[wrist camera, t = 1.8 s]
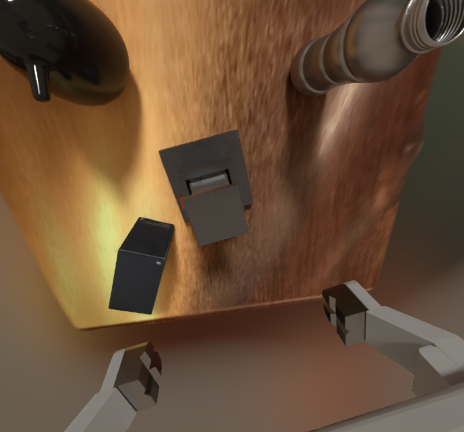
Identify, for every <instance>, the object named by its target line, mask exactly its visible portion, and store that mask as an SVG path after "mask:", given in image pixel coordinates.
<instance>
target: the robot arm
mask: <svg viewBox="0 0 464 432" xmlns="http://www.w3.org/2000/svg"><path fill="white" fill-rule="evenodd" d="M322 296H323V298H324V299H325V300H324V302H323V308H324V311H325V314H326V316H327V318H328V320H329V321H330V323H331V324H332V325H334V326H336V327H337V334H338V335H339V337H340V338H341V340H342V341H343V343H344V344H345V346H349V345H353V344H356V343H360V342H364V341H365V342H366V343H367V344H369V345H370V346H372V347H373V348H375V349H377V350H378V351H380V352H381V353H383V354H384V355H386V356H387V357H389V358H391V359H392V360H393V361H395V362H397V363H398V364H400V365H401V366H403V367H404V368H406V369H407V370H409V371H411V372H412V373H413V374H414V380H413V386H412V391H413V393H414V394H415V395H416V396H417V397H415V398H412V399H409V400H406V401H402V402H399V403H396V404H393V405H390V406H387V407H384V408H380V409H377V410H374V411H371V412H368V413H365V414H361V415H358V416H355V417H352V418H349V419H346V420H343V421H340V422H336V423H333V424H330V425H327V426H324V427H321V428H318V429H315V430H311V431H308V432H464V341H463V340H462V339H461V338H460V337H458V336H457V335H455V334H452V333H450V332H447V331H445V330H443V329H440V328H438V327H435V326H433V325H430V324H428V323H426V322H423V321H421V320H418V319H416V318H413V317H411V316H408V315H406V314H404V313H401V312H399V311H396V310H394V309H391V308H389V307H386V306H383V307H381V306H380V305H379V304H378V303H377V302H376V301H375V300H374V299H373V298H372V297H371V296H370V295H369V294H368V293H367V292H366V291H365V290H364V289H363V288H362V287H361V286H360V285H359V284H358V283H357V282H356V281H354V280H353V281H350V282H347V283H343V284H340V285H336V286H333V287H330V288H327V289H324V290H322ZM153 349H154V346H153V344H152V343H151V342H147V343H143V344H139V345H136V346H132V347H129V348H125V349H121V350H118V351H116V352H115V353H114V354H113V357H112V360H111V363H110V365H109V368H108V370H107V373H106V376H105V379H104V381H103V384H102V387H101V389H100V392H99V393H96V394H95V395H94V396H93V398H92V399H91V400H90V401H89V402H88V404H87V405H86V406H85V407H84V409H83V410H82V411H81V412H80V413H79V415H78V416H77V417H76V418H75V419H74V421H73V422H72V423H71V424H70V425H69V427H68V428H67V429H66V430H65V432H126V431H127V429H128V428H129V426H130V424H131V422H132V420H133V419H134V417H135V415H136V413H137V412H136V411H139V410H142V409H145V408H148V407H151V406H154V405H156V404H157V398H158V391H159V386H158V384H157V381H158V379H159V377H160V376H161V370H162V365H161V358H160V356H159V354H158V352H155V351H153Z"/></svg>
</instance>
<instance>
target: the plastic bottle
mask: <svg viewBox="0 0 464 432" xmlns="http://www.w3.org/2000/svg"><path fill="white" fill-rule="evenodd" d="M463 32H464V0H367V1H365V2H364V3H363V4H362V5H361V6H360V7H359V8H358V9H357V10H356V11H355V12H354V13H353V14H352V15H351V16H350V17H349V18H348V19H347V20H346V21H345V22H344V23H343V24H342V25H341V26H339V27H338V28H337V29H336V30H334V31H333V32H332V33H330V34H328V35H326V36H324V37H320V38H317V39H314V40H311V41H309V42H307V43H306V44H304V45H303V46H302V47H301V48H300V50H299V51H298V52H297V54H296V55H295V57H294V59H293V61H292V64H291V69H290V75H291V80H292V83H293V85H294V87H295V89H296V90H297V91H298V92H299V93H301V94H303V95H306V96H312V97H314V96H320V95H322V94H324V93H326V92H328V91H330V90H331V89H333V88H335V87H337V86H340V85H343V84H349V83H374V82H382V81H385V80H388V79H390V78H392V77H394V76H395V75H397V74H399V73H400V72H402V71H403V70H404V69H405V68H407V67H408V66H409V65H410V64H411V63H412V61H413V60H414V59H415V58H416V57H417V56H418V55H419V54H422V53H426V52H429V51H431V50H433V49H435V48H438V47H441V46H445V45H447V44H449V43H451V42H453V41H454V40H456V39H457V38H458V37H459V36H460V35H461V34H462V33H463Z"/></svg>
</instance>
